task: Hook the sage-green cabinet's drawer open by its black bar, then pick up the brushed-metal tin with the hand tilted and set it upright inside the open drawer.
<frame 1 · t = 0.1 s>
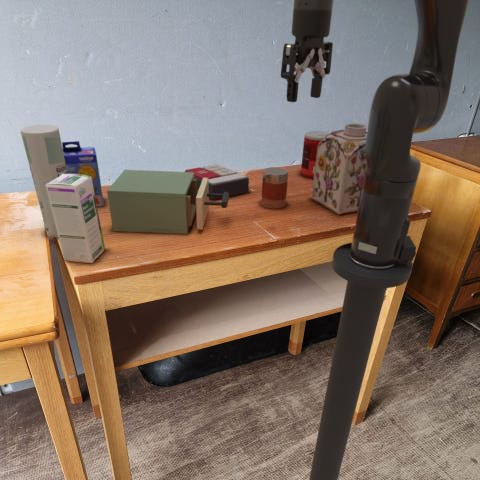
hand: (303, 99, 95), 23 cm above the table, tool pointing down, fingers open, 8 cm apart
cabinet: (156, 219, 98), on the table
decorative jar: (342, 204, 108), on the table
tin: (273, 204, 107), on the table
drawer: (183, 201, 95), point 4 cm above the table, slide at 2.0 cm
canned food: (314, 175, 126), on the table
red and beige packet: (215, 188, 115), on the table
syrup box: (84, 256, 83), on the table
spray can: (62, 232, 92), on the table
ink cartridge box: (82, 205, 104), on the table
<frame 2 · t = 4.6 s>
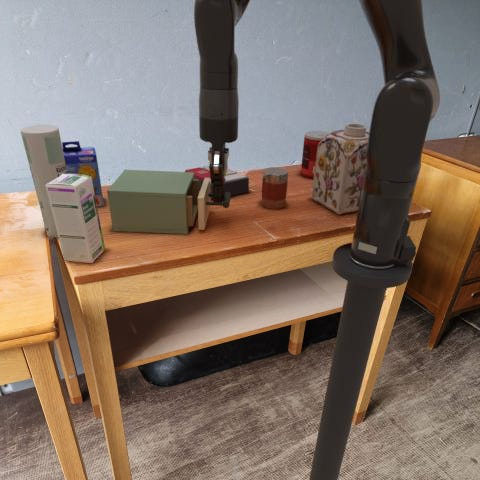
hand: (218, 201, 95), 5 cm above the table, tool pointing down, fingers closed
drawer: (185, 202, 95), point 4 cm above the table, slide at 2.4 cm, touching gripper
everything else where it was.
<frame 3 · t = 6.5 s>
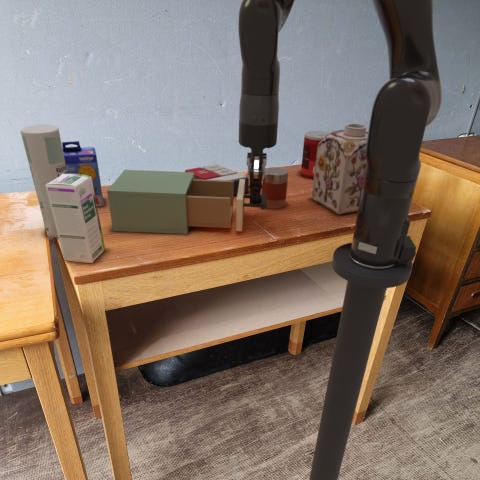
hand: (254, 205, 95), 4 cm above the table, tool pointing down, fingers closed
drawer: (221, 203, 95), point 4 cm above the table, slide at 10.1 cm
everything else where it was.
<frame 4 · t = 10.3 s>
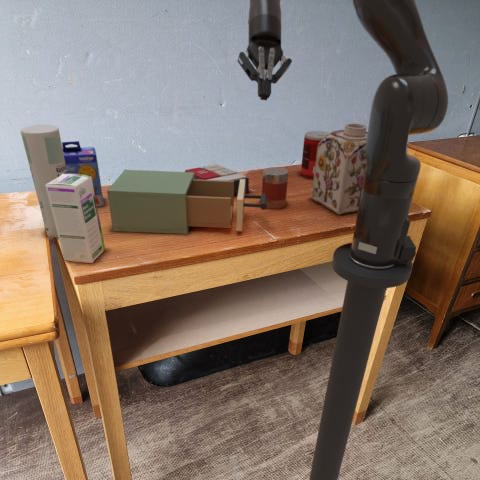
hand: (264, 98, 101), 22 cm above the table, tool tilted 35°, fingers closed
nothing on the table moved.
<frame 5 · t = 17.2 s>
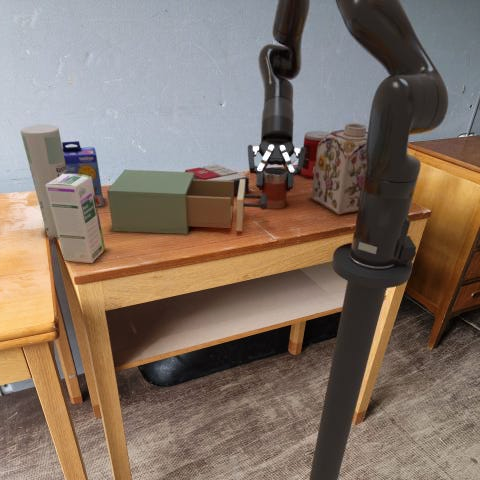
hand: (274, 189, 103), 4 cm above the table, tool tilted 45°, fingers closed on tin, 6 cm apart
tin: (273, 204, 107), on the table, touching gripper
everything else where it was.
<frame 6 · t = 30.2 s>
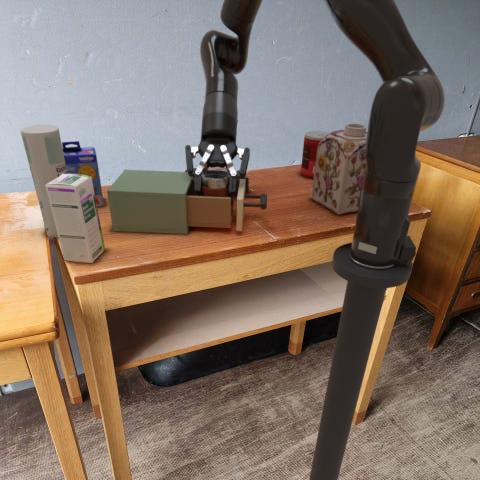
hand: (215, 194, 92), 7 cm above the table, tool tilted 45°, fingers closed on tin, 6 cm apart
tin: (215, 211, 96), point 2 cm above the table, touching gripper
everything else where it was.
when the fingers open (9 cm above the table, at t = 44.4 s): tin drops 3 cm, resting on drawer.
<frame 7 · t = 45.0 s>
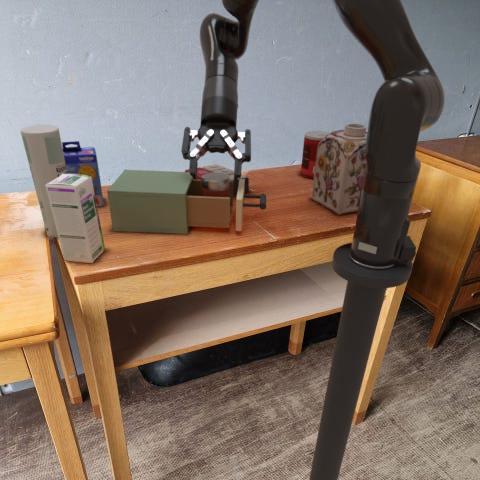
hand: (215, 178, 90), 10 cm above the table, tool tilted 45°, fingers open, 8 cm apart
tin: (215, 213, 96), point 2 cm above the table, touching drawer
drawer: (220, 203, 95), point 4 cm above the table, slide at 10.1 cm, touching tin
everything else where it was.
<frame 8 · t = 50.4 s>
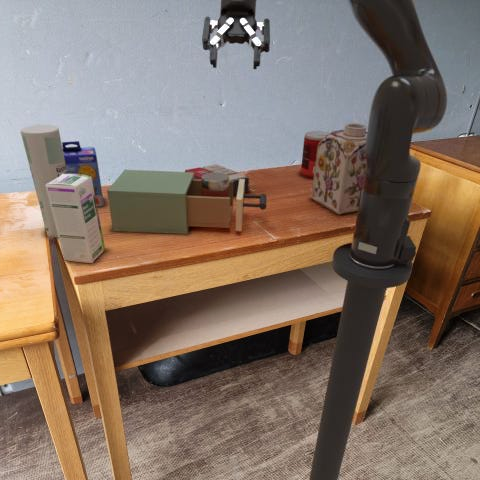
hand: (234, 65, 92), 29 cm above the table, tool tilted 45°, fingers open, 8 cm apart
nothing on the table moved.
at the end: drawer slide at 10.1 cm; tin inside the target area in the drawer (1.5 cm from its centre), point 2.0 cm above the cabinet's base; tin tilted 0° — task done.
